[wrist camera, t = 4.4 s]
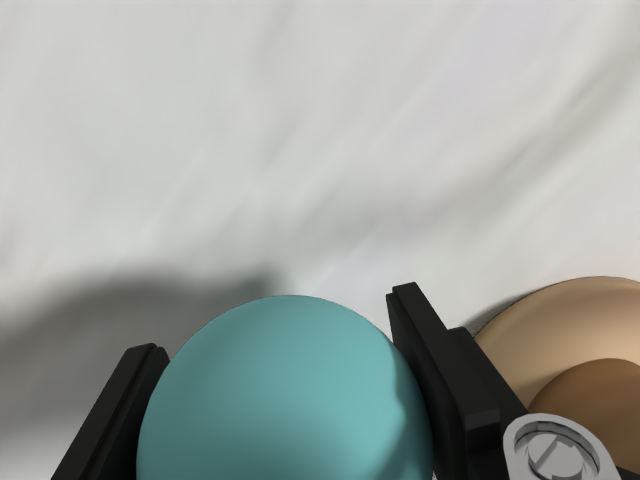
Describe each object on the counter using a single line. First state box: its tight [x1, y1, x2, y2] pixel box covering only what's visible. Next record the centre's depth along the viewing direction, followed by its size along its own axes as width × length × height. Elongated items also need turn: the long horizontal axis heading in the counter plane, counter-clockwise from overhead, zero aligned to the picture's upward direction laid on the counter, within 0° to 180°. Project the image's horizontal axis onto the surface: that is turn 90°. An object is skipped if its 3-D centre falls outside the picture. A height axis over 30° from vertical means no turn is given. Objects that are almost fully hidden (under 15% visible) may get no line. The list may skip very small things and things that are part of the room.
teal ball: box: [136, 295, 434, 480], centre depth 8 cm, size 6×6×6 cm
